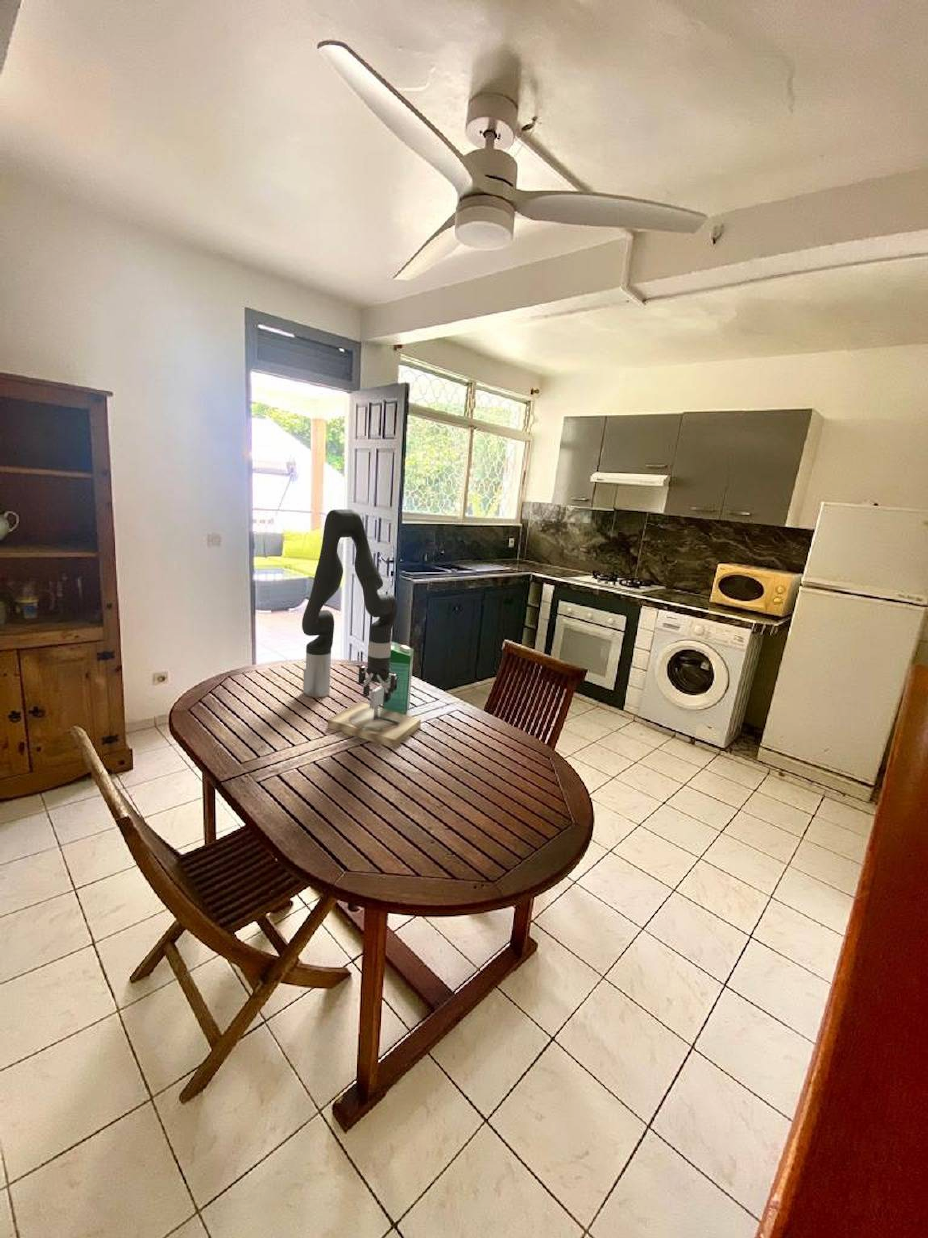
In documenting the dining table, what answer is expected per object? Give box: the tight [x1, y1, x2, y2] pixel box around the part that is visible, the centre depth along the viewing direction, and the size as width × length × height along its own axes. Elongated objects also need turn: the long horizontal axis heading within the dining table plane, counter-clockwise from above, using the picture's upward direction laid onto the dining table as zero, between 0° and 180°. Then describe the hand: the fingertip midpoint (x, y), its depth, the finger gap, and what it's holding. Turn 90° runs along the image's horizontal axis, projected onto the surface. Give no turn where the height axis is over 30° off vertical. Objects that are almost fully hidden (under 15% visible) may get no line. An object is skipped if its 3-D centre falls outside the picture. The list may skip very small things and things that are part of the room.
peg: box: [369, 685, 399, 724], centre depth 168 cm, size 10×6×11 cm, turn 67°
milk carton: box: [382, 640, 415, 715], centre depth 186 cm, size 9×9×25 cm
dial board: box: [327, 701, 422, 749], centre depth 171 cm, size 26×18×3 cm
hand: (376, 699), depth 169 cm, fingers open, 7 cm apart
